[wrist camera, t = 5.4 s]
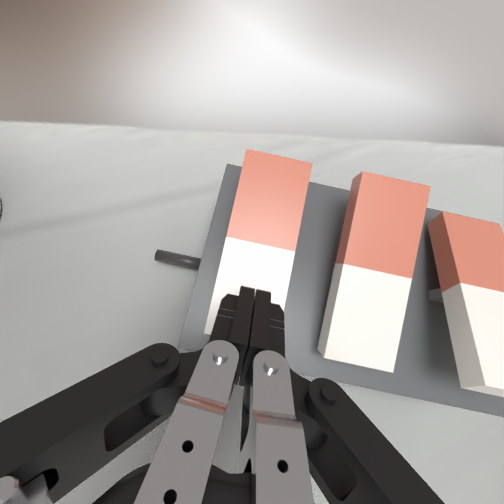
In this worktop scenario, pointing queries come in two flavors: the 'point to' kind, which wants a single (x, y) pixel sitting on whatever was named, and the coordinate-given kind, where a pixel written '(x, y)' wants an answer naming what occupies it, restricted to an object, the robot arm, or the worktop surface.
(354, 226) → the block
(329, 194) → the switch console
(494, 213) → the worktop surface
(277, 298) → the block
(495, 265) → the rocker
